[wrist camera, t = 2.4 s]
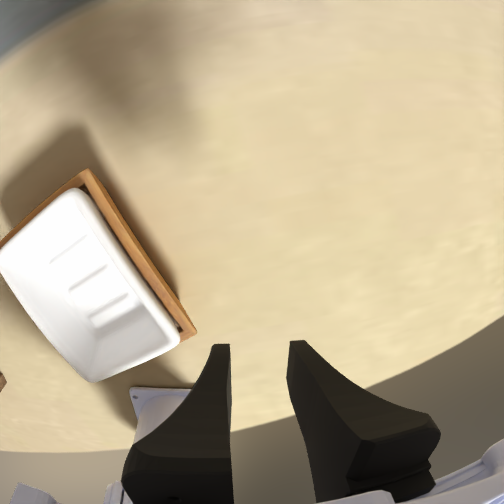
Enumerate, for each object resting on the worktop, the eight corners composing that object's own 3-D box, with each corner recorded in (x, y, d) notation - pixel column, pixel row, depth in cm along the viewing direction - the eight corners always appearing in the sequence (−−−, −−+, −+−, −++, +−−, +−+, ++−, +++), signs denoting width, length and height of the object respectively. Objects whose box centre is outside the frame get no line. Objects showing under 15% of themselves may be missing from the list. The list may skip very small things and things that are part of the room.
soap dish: (18, 233, 20) (-18, 255, 15) (107, 161, 19) (76, 167, 15) (105, 355, 24) (88, 395, 20) (200, 307, 24) (197, 347, 19)
